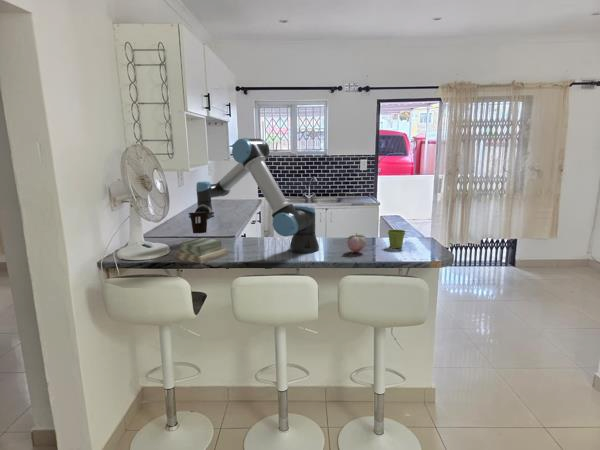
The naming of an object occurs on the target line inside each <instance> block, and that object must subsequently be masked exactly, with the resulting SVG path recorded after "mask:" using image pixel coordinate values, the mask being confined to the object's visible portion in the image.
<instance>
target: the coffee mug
mask: <svg viewBox="0 0 600 450" xmlns="http://www.w3.org/2000/svg"><path fill="white" fill-rule="evenodd" d="M189 213H190V217H191V218H190V222H191V228H192V233H193V234H206V233H207V231H208V230H207V228H208V220H207V218H208V212H199V213H195V212H189ZM196 217H197V223H196V219H195V218H196ZM198 217H200V223H198Z"/></svg>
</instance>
